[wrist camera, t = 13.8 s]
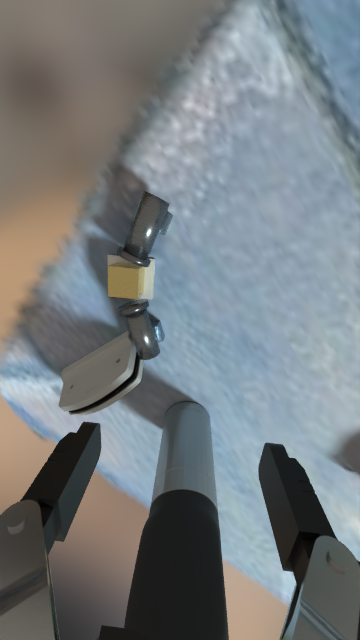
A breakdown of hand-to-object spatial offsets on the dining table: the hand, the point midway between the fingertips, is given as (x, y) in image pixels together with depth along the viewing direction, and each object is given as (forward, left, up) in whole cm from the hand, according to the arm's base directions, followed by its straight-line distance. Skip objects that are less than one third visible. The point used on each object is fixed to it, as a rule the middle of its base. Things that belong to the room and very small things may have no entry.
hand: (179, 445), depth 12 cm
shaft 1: (+10, +7, -30) cm, 32 cm away
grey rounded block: (-15, +14, -30) cm, 37 cm away
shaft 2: (-6, +7, -30) cm, 31 cm away
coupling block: (+2, +10, -30) cm, 31 cm away
